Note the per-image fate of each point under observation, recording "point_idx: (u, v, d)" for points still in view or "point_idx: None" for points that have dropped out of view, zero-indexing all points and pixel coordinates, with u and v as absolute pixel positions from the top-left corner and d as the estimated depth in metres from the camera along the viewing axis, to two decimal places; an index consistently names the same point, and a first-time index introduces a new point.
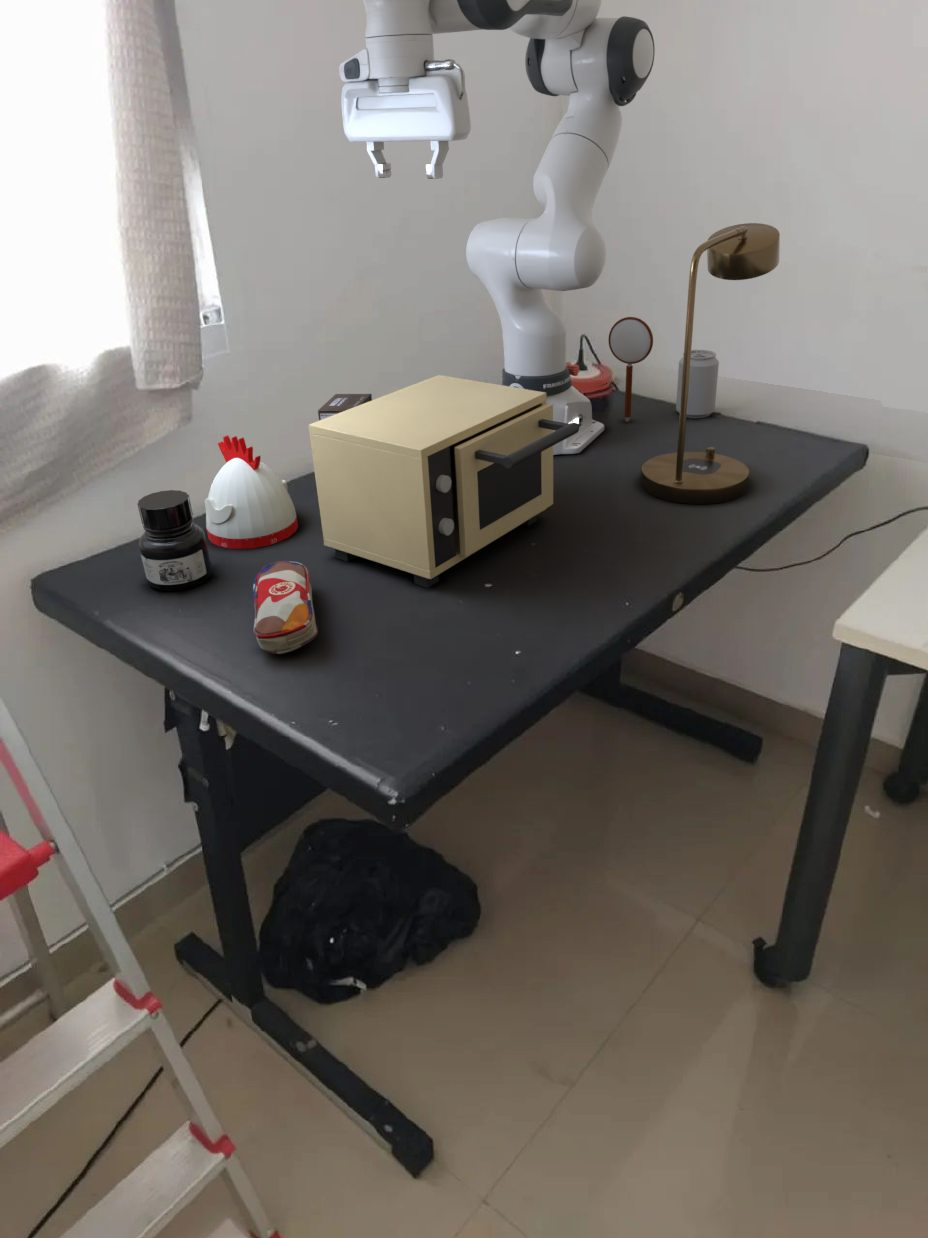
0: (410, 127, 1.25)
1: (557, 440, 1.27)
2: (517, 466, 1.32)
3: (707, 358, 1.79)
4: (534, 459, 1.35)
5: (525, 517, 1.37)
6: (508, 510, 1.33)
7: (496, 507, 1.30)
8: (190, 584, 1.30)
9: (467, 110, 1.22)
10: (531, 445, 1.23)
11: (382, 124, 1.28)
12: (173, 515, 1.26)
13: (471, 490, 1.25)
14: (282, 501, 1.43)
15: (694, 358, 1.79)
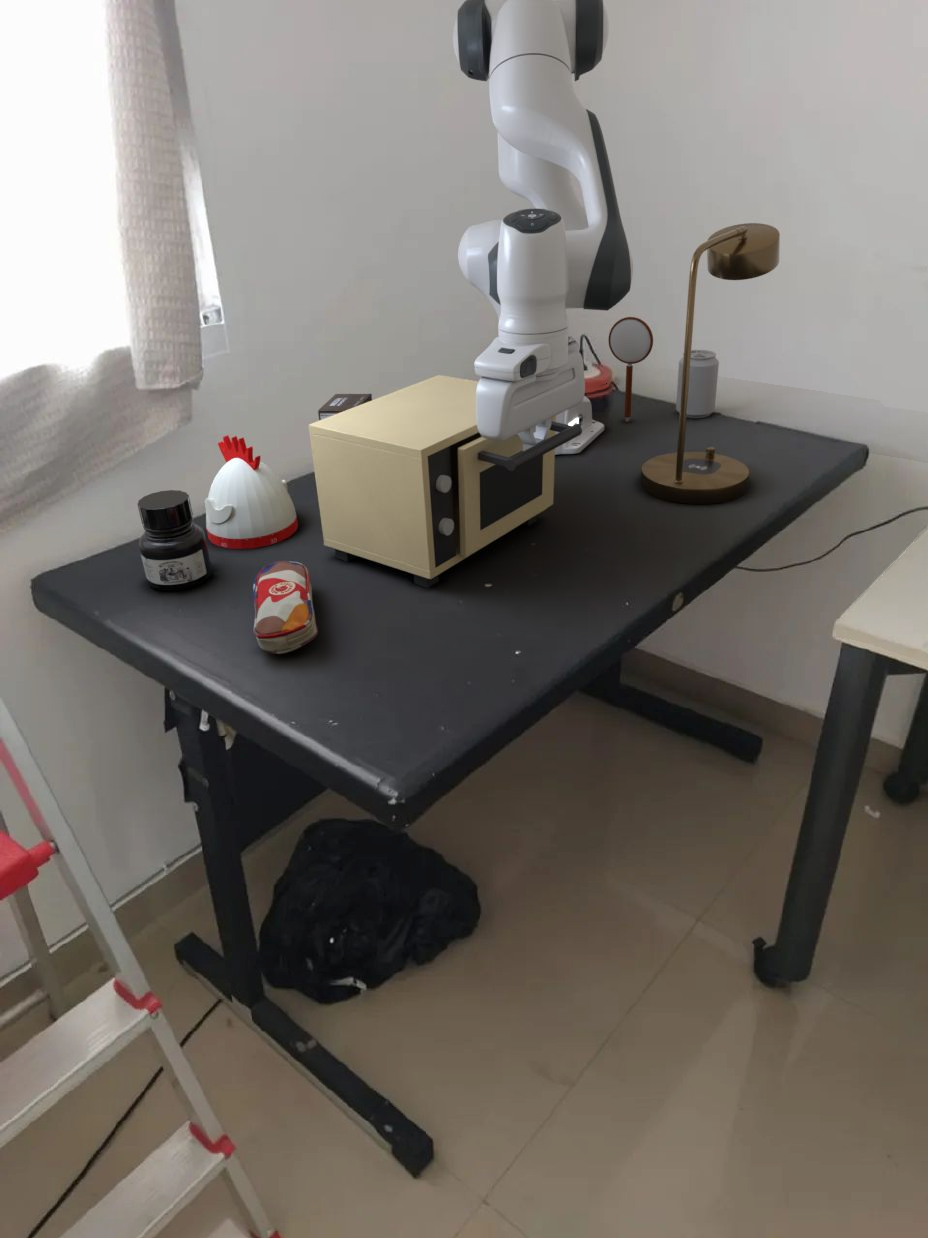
0: (555, 404, 1.24)
1: (560, 442, 1.27)
2: (519, 467, 1.31)
3: (707, 358, 1.79)
4: (535, 460, 1.34)
5: (525, 517, 1.37)
6: (509, 510, 1.33)
7: (497, 507, 1.30)
8: (190, 584, 1.30)
9: None
10: (534, 447, 1.23)
11: (534, 411, 1.21)
12: (173, 515, 1.26)
13: (473, 491, 1.25)
14: (282, 501, 1.43)
15: (694, 358, 1.79)
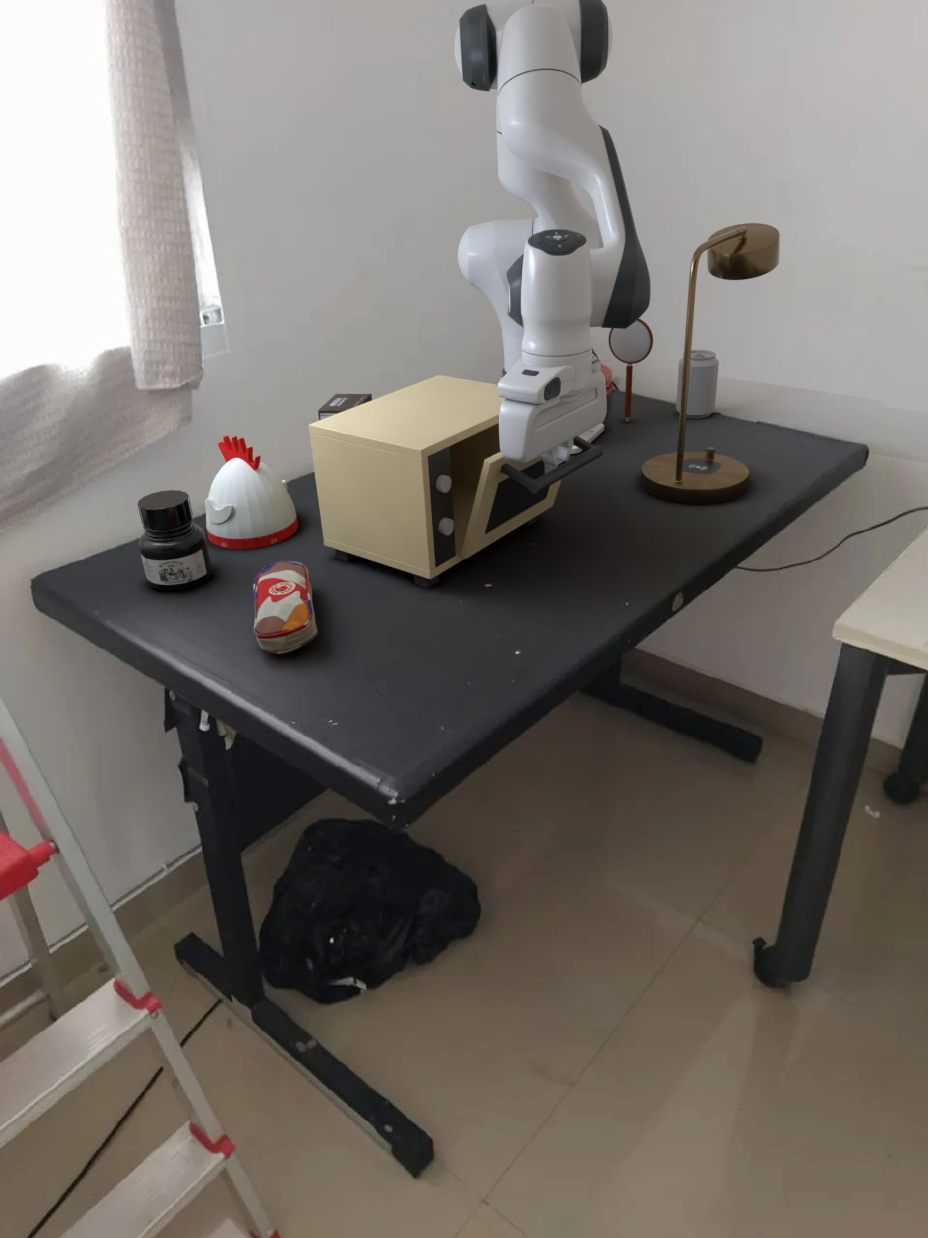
0: (578, 425, 1.23)
1: (581, 465, 1.26)
2: (533, 475, 1.31)
3: (707, 358, 1.79)
4: None
5: (526, 519, 1.37)
6: (514, 514, 1.33)
7: (504, 512, 1.30)
8: (190, 584, 1.30)
9: None
10: (558, 471, 1.22)
11: (557, 432, 1.20)
12: (173, 515, 1.26)
13: (488, 500, 1.24)
14: (282, 501, 1.43)
15: (694, 358, 1.79)
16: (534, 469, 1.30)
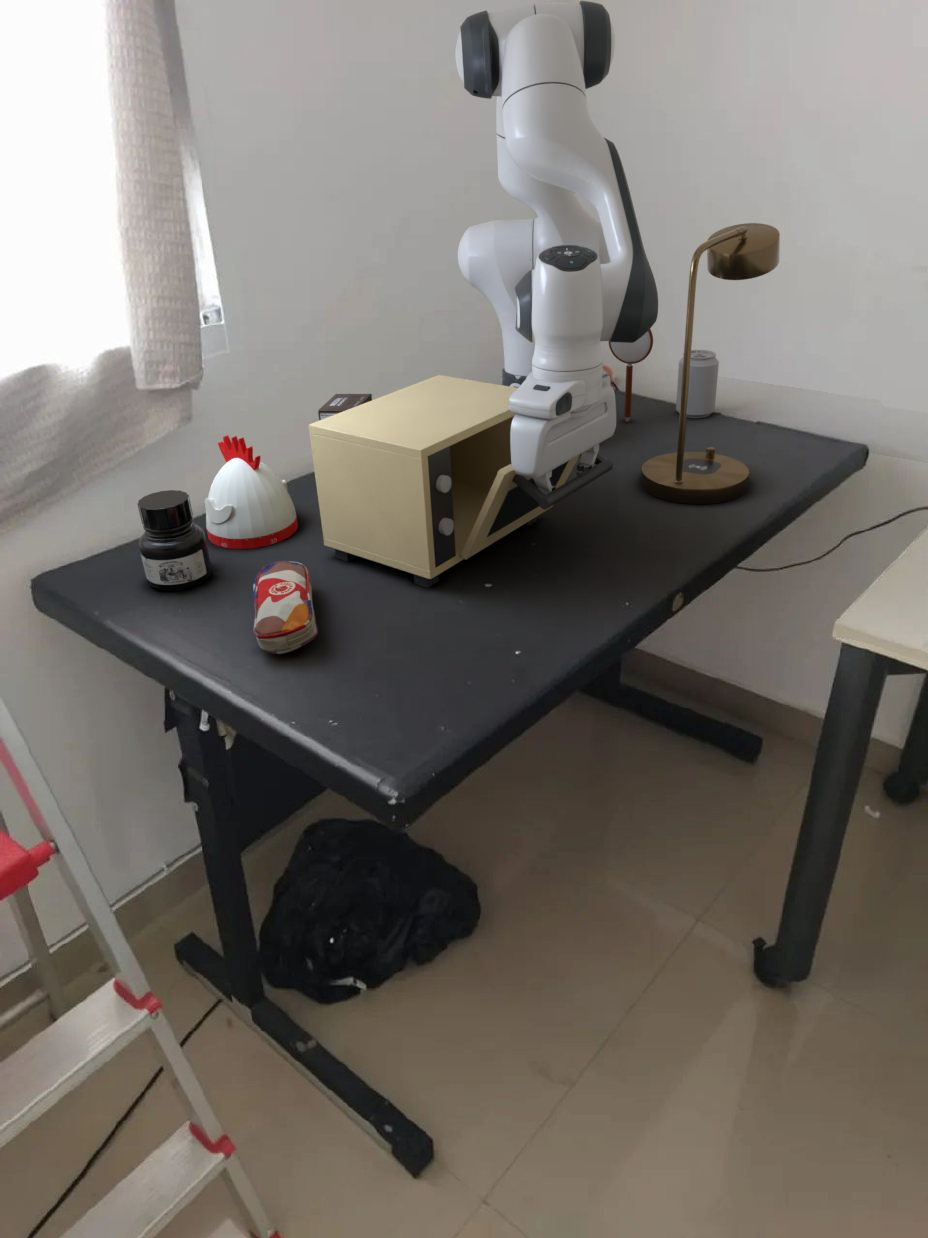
0: (588, 439, 1.24)
1: (591, 481, 1.26)
2: None
3: (707, 358, 1.79)
4: (556, 474, 1.33)
5: (526, 521, 1.37)
6: (516, 517, 1.33)
7: (508, 516, 1.30)
8: (190, 584, 1.30)
9: None
10: (569, 486, 1.22)
11: (568, 447, 1.20)
12: (173, 515, 1.26)
13: (496, 506, 1.23)
14: (282, 501, 1.43)
15: (694, 358, 1.79)
16: None
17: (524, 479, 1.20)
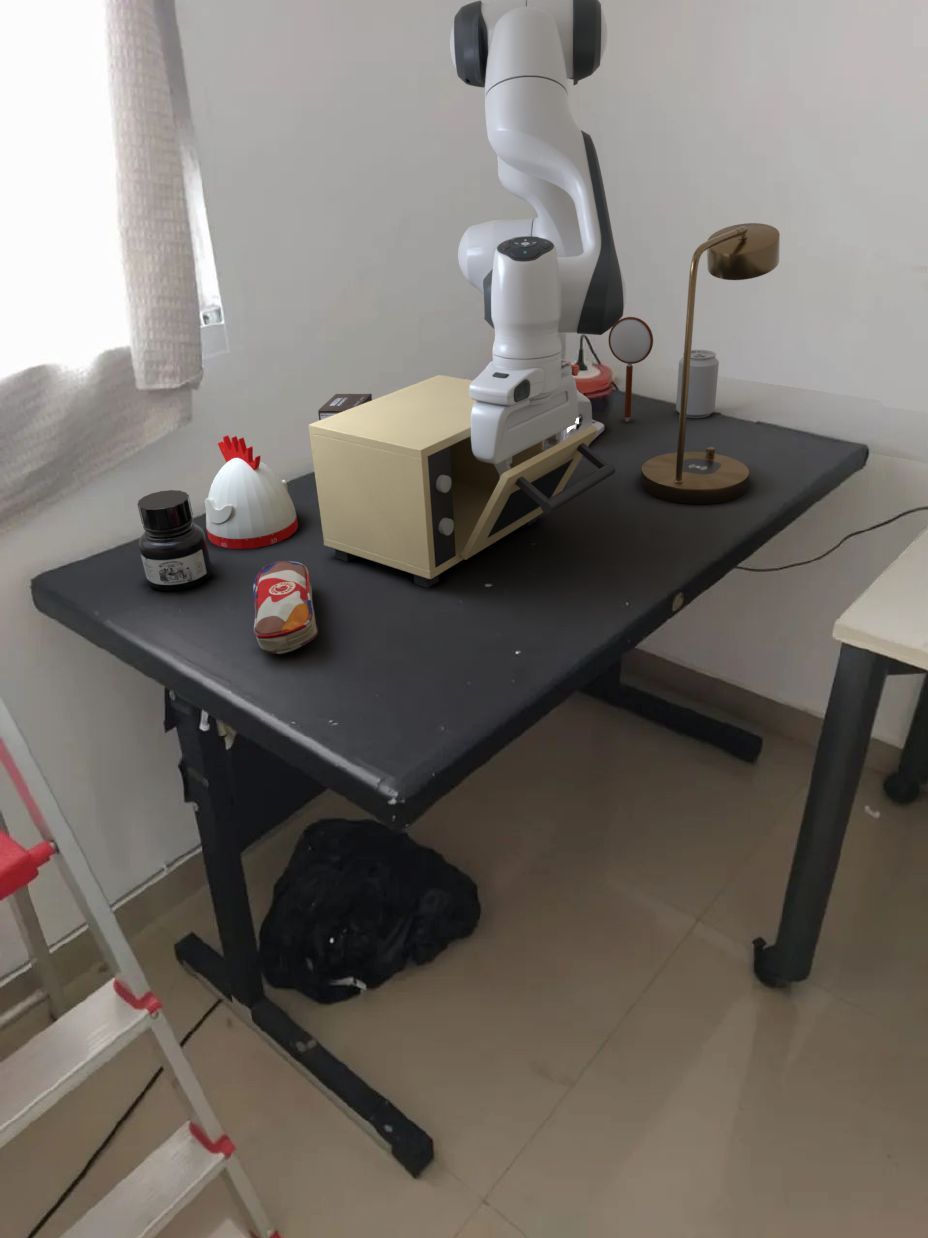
0: (549, 427, 1.26)
1: (593, 485, 1.26)
2: (543, 483, 1.30)
3: (707, 358, 1.79)
4: (558, 476, 1.33)
5: (526, 521, 1.37)
6: (517, 518, 1.33)
7: (509, 517, 1.30)
8: (190, 584, 1.30)
9: None
10: (571, 491, 1.22)
11: (528, 434, 1.23)
12: (173, 515, 1.26)
13: (498, 508, 1.23)
14: (282, 501, 1.43)
15: (694, 358, 1.79)
16: (545, 478, 1.29)
17: (527, 482, 1.20)
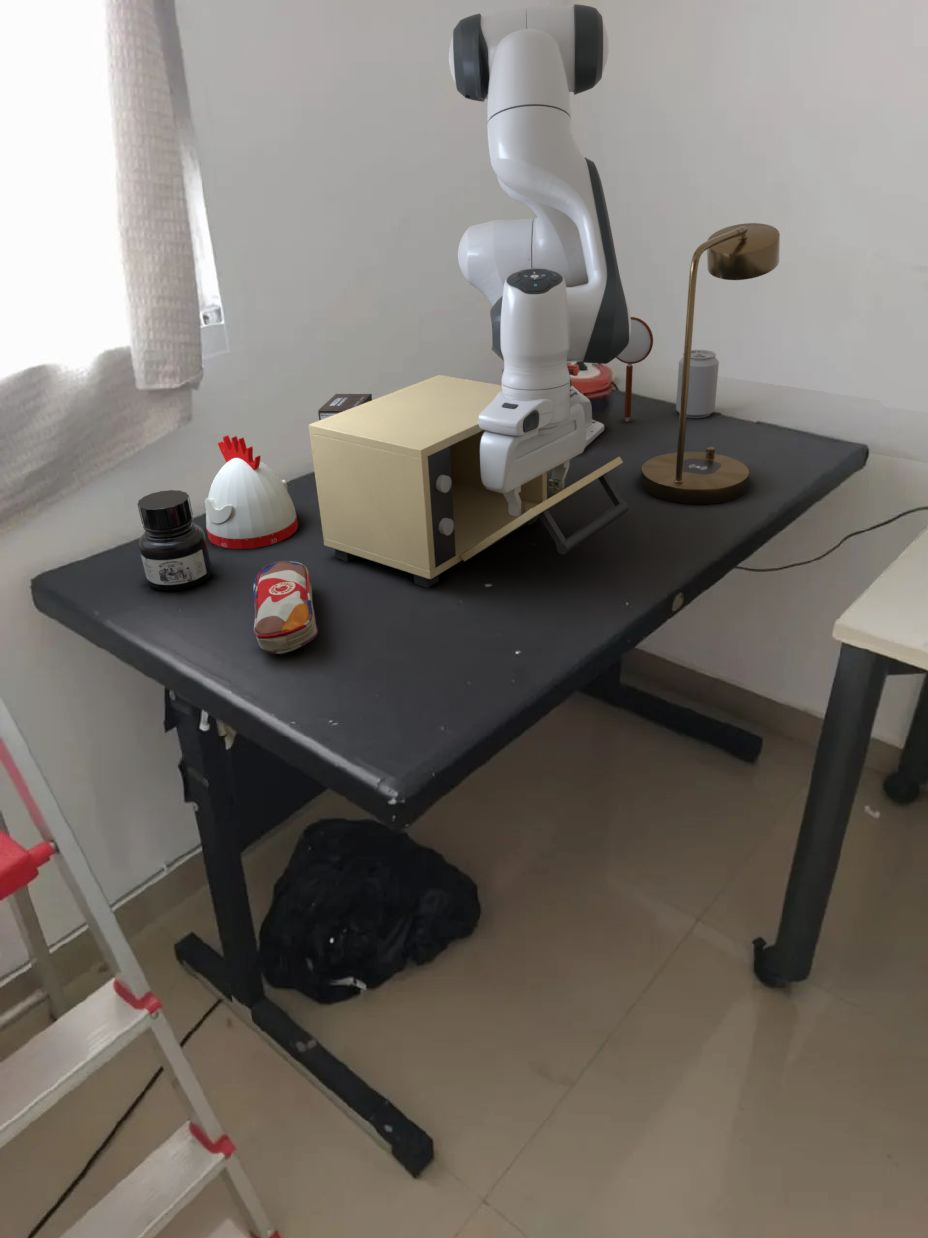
0: (557, 456, 1.27)
1: (606, 525, 1.28)
2: None
3: (707, 358, 1.79)
4: None
5: None
6: (521, 526, 1.33)
7: None
8: (190, 584, 1.30)
9: None
10: (587, 533, 1.23)
11: (537, 463, 1.24)
12: (173, 515, 1.26)
13: None
14: (282, 501, 1.43)
15: (694, 358, 1.79)
16: None
17: (550, 518, 1.20)
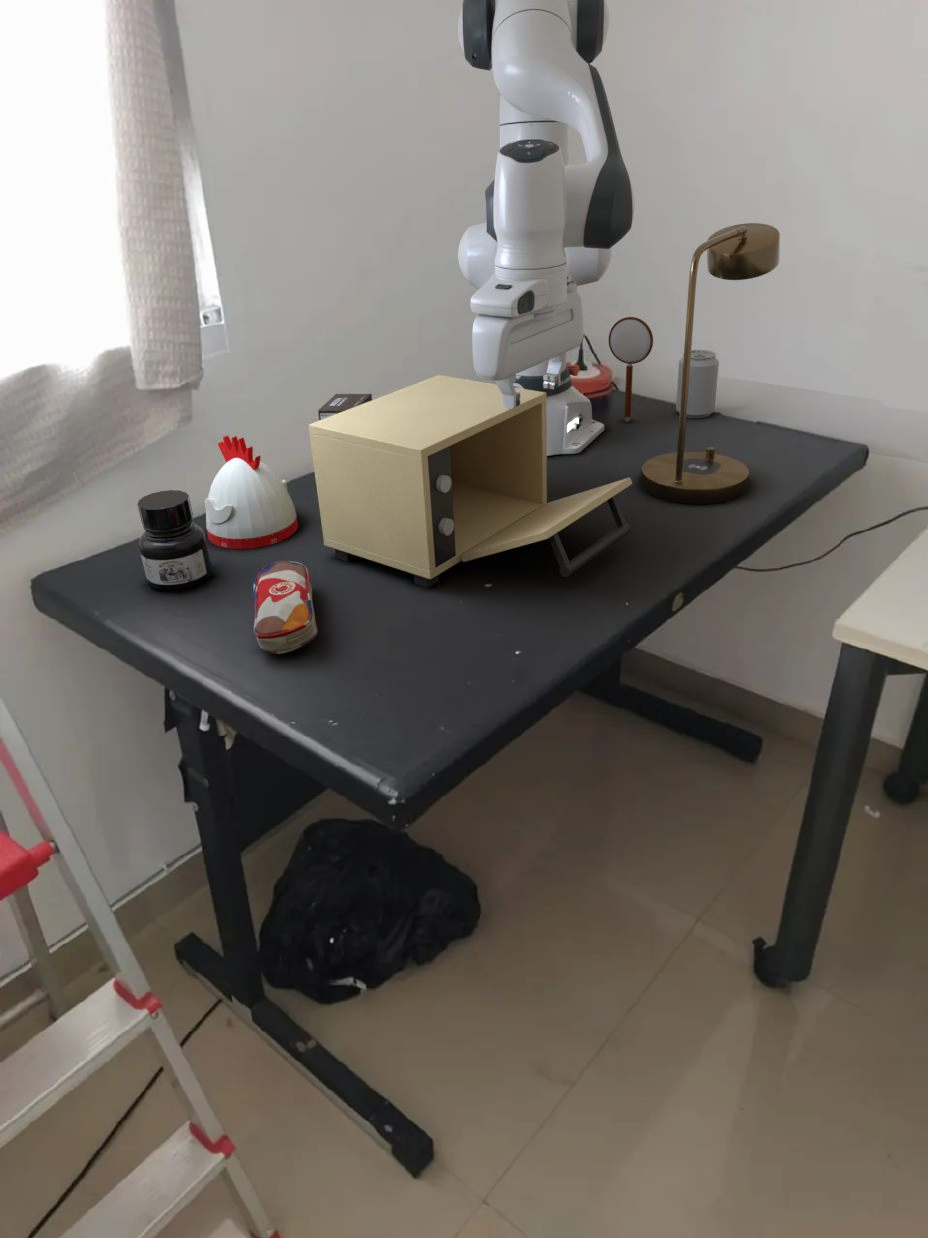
0: (554, 346, 1.21)
1: None
2: None
3: (707, 358, 1.79)
4: None
5: None
6: None
7: None
8: (190, 584, 1.30)
9: None
10: (590, 557, 1.25)
11: (532, 351, 1.18)
12: (173, 515, 1.26)
13: None
14: (282, 501, 1.43)
15: (694, 358, 1.79)
16: None
17: (558, 540, 1.21)
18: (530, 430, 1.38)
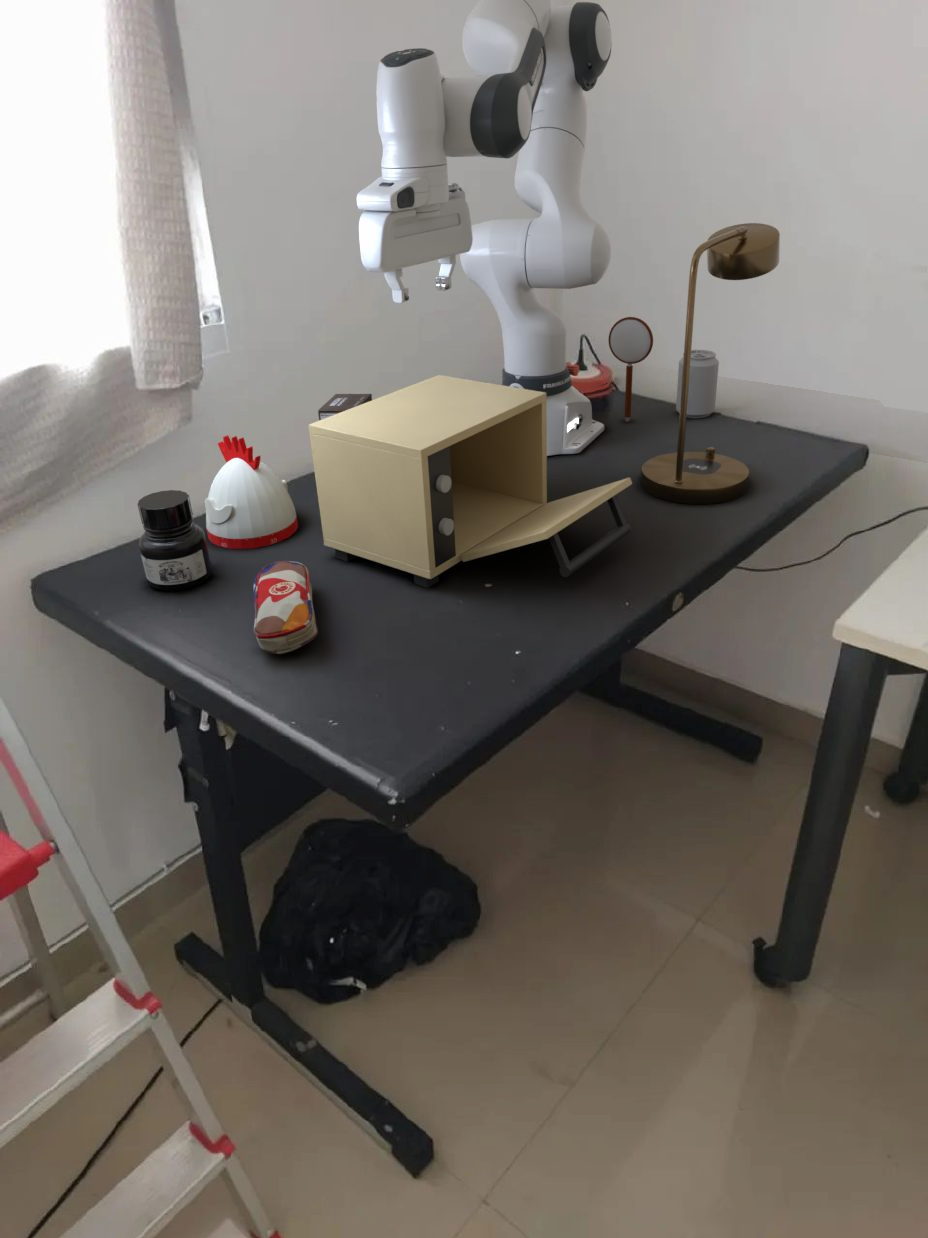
0: (441, 246, 1.32)
1: None
2: None
3: (707, 358, 1.79)
4: None
5: None
6: None
7: None
8: (190, 584, 1.30)
9: None
10: (590, 557, 1.25)
11: (417, 248, 1.28)
12: (173, 515, 1.26)
13: None
14: (282, 501, 1.43)
15: (694, 358, 1.79)
16: None
17: (558, 540, 1.21)
18: (530, 430, 1.38)
